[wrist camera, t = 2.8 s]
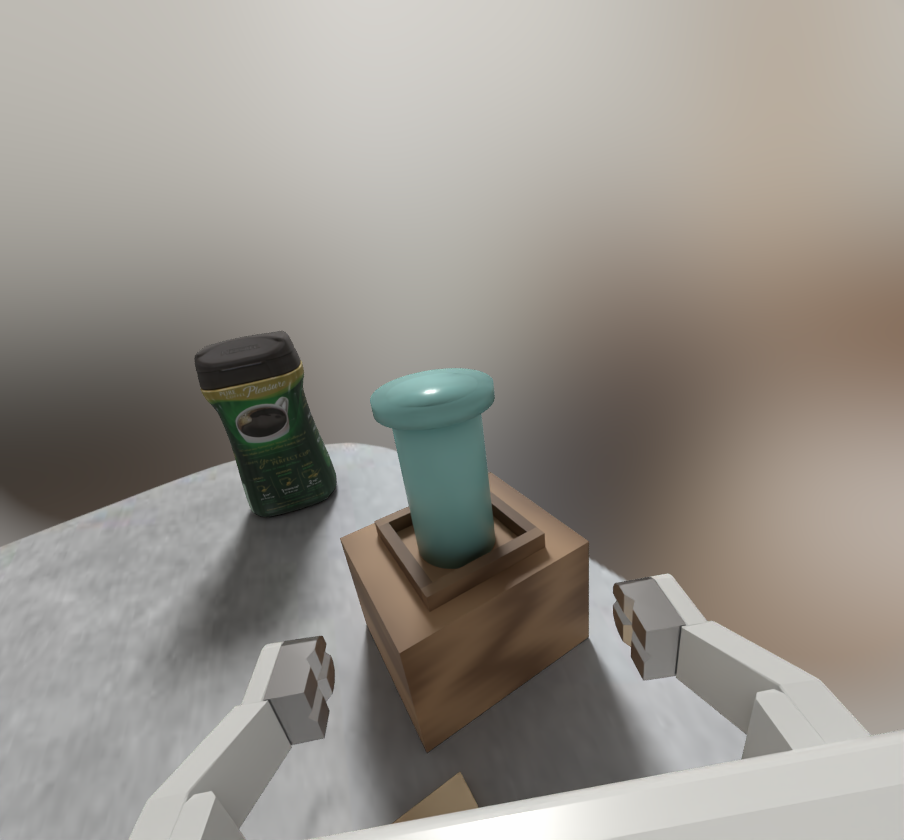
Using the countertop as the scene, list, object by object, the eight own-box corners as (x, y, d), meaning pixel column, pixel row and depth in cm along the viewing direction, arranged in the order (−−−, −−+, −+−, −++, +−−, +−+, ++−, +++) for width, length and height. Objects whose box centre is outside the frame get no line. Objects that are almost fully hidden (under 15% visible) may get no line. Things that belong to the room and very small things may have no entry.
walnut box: (426, 753, 23) (395, 638, 19) (366, 623, 31) (336, 526, 27) (588, 637, 27) (588, 527, 24) (499, 552, 36) (489, 461, 32)
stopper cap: (434, 598, 22) (399, 427, 18) (389, 534, 27) (354, 391, 23) (530, 545, 24) (519, 385, 20) (472, 496, 30) (453, 361, 26)
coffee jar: (336, 468, 53) (293, 321, 45) (341, 501, 46) (292, 334, 38) (255, 490, 51) (197, 339, 43) (248, 528, 44) (176, 357, 36)
